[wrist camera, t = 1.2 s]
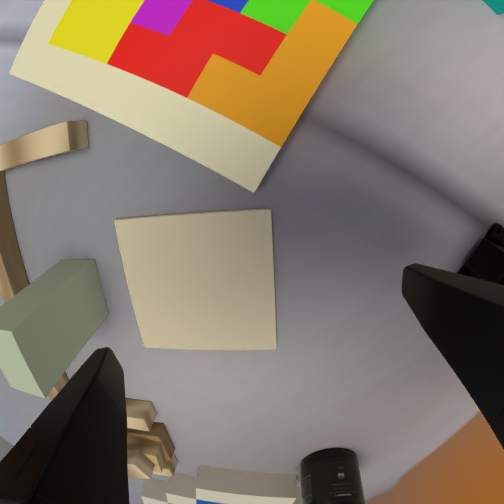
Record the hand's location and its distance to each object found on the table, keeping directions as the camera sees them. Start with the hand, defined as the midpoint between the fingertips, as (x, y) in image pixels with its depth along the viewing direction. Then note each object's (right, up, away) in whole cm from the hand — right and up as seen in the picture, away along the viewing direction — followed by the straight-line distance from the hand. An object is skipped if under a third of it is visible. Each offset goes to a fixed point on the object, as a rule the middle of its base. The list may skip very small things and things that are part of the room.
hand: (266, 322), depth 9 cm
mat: (-4, -1, +14) cm, 15 cm away
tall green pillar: (-14, -1, +15) cm, 21 cm away
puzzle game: (+2, +21, +6) cm, 22 cm away
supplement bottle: (+9, -23, +22) cm, 33 cm away
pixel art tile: (-2, -38, +29) cm, 48 cm away
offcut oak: (-13, -20, +20) cm, 31 cm away
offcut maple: (-13, -20, +18) cm, 30 cm away
